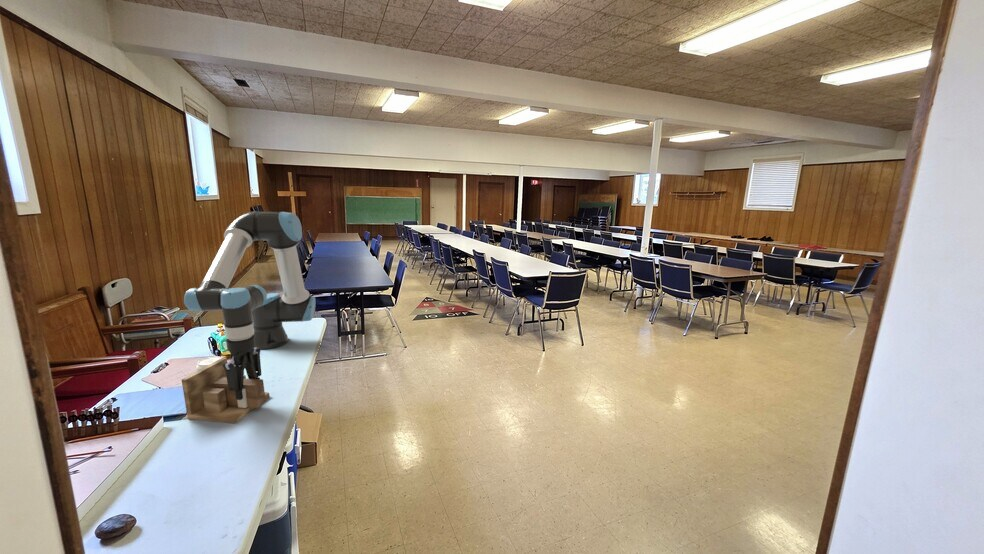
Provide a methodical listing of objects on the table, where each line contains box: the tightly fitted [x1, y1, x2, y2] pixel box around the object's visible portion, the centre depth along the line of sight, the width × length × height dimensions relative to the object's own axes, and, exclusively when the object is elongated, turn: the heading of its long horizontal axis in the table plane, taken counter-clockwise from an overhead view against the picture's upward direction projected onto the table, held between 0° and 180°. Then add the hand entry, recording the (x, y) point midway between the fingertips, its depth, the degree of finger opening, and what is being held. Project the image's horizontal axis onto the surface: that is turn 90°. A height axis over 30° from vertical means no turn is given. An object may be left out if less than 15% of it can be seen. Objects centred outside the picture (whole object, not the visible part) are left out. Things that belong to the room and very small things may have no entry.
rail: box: [213, 377, 267, 409], centre depth 124 cm, size 4×14×8 cm, turn 87°
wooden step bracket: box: [181, 357, 270, 424], centre depth 125 cm, size 16×16×14 cm
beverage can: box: [195, 355, 223, 372], centre depth 134 cm, size 8×8×12 cm
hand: (248, 402), depth 125 cm, fingers closed on rail, 4 cm apart
